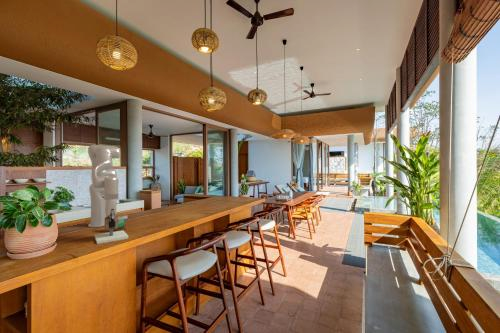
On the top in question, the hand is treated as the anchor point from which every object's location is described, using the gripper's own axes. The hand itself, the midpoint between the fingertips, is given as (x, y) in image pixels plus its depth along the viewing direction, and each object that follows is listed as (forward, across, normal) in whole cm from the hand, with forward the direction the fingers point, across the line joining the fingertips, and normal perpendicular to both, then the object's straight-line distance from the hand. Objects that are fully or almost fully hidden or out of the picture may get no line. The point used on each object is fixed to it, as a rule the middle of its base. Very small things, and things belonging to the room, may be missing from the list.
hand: (111, 225), depth 142 cm
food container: (+8, -15, +5) cm, 17 cm away
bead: (+1, 0, 0) cm, 1 cm away
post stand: (+7, 0, 0) cm, 7 cm away
